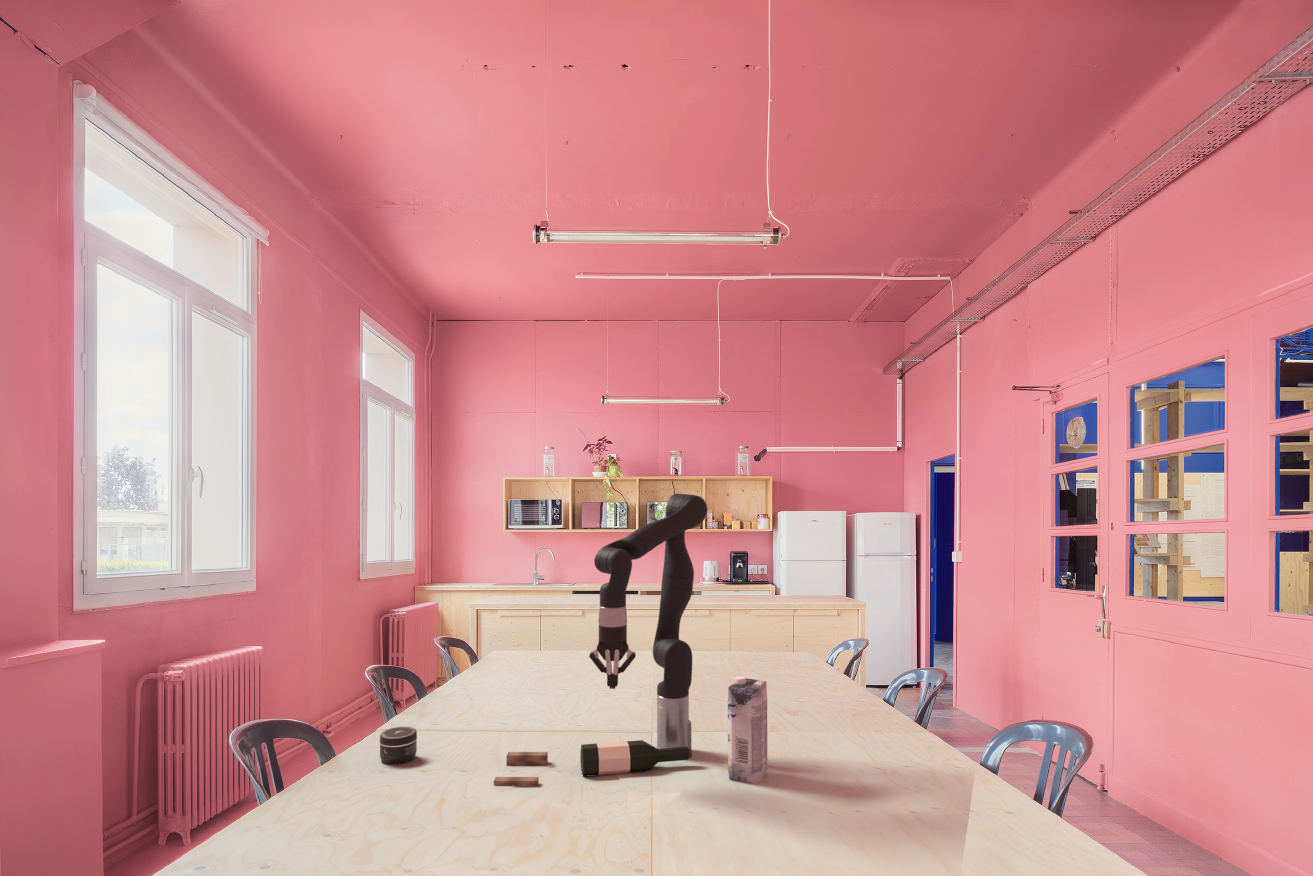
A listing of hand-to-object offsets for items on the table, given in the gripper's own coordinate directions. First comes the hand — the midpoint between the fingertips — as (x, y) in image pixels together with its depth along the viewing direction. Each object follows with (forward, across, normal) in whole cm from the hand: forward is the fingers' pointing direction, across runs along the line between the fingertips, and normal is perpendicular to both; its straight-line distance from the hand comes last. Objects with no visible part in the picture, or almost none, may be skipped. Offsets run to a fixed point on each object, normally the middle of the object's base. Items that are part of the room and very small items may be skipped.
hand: (612, 687), depth 202 cm
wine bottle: (+20, +8, -1) cm, 21 cm away
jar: (+24, +61, -12) cm, 67 cm away
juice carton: (+24, -36, +3) cm, 43 cm away
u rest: (+24, +24, 0) cm, 34 cm away
